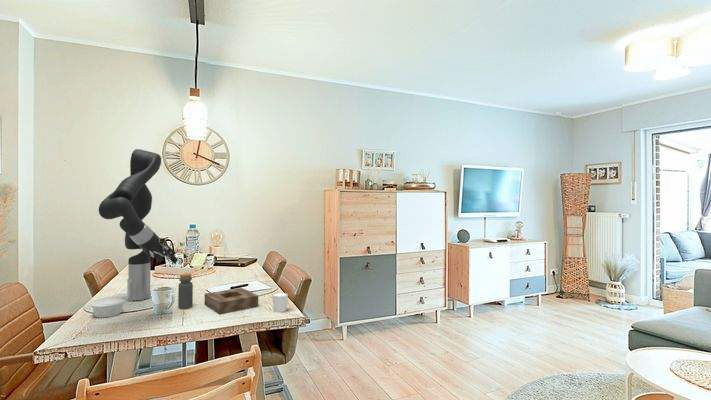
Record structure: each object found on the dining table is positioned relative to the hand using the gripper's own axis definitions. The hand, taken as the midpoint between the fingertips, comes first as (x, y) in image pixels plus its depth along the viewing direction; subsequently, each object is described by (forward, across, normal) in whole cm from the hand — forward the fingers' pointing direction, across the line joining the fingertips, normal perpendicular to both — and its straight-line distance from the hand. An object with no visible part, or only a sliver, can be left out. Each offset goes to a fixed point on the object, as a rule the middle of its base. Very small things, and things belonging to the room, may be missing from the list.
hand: (168, 261), depth 159 cm
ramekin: (+8, +22, +24) cm, 33 cm away
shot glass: (+34, -40, -1) cm, 52 cm away
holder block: (+30, -16, +2) cm, 34 cm away
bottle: (+22, +1, +9) cm, 24 cm away
